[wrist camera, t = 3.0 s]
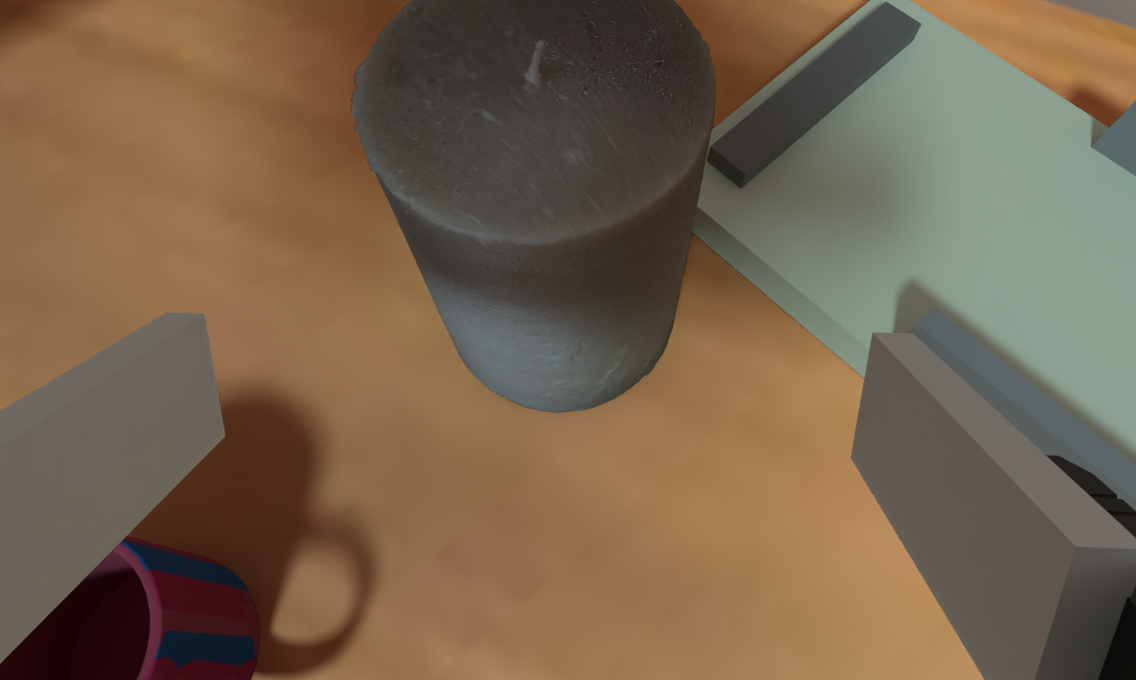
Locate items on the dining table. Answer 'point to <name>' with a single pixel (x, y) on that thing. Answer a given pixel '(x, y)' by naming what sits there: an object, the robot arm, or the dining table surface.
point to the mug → (145, 623)
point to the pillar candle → (544, 180)
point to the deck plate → (944, 223)
